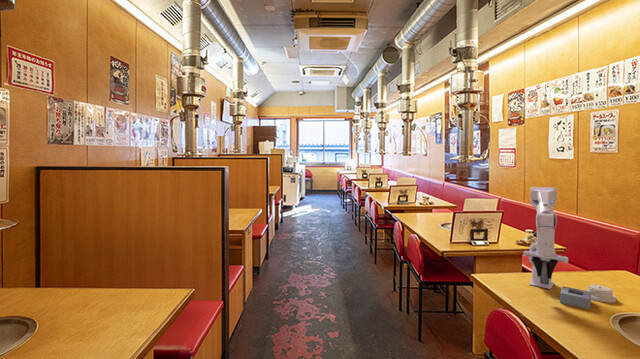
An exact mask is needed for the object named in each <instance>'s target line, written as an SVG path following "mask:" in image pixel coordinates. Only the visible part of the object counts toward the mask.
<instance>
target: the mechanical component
mask: <svg viewBox="0 0 640 359" xmlns="http://www.w3.org/2000/svg"><path fill="white" fill-rule="evenodd" d="M587 286H588V289H587V290H585V291H590V292H591V300H593V301H596V302H600V303H601V302H602V303H608V304H609V303H611V304H613V303H616V302H617V300H618V299H617V297H616V296H615V295H614V294H613V289H612V288H610V287H608V286H604V285H600V284H589V285H587Z"/></svg>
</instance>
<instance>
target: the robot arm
mask: <svg viewBox="0 0 640 359" xmlns="http://www.w3.org/2000/svg"><path fill="white" fill-rule="evenodd" d="M529 189H530V191H529V192H530V194H529V199H530V205H531V206H532V207H534V208H535V210H536V216H535V226H536V242H535V243H533V244H531V245H530V246H529V250H524V251H523V252H522V253H523V254H522V256H523V257H528V261H529V263H530V264H531V265H532V268H531V272H532V273H531V281H530V282H529V285H530V286H533V287H538V288H539V287H540V288H544V289H549V290H551V289H552V288H553V286H554V284H555V282H554V281H552V277H553V274H554V270H555V268H556V266H557V264H558V263H559V262H560V263H565V264H568V263H569V257H567V256H564V255H558V254H556V248H555V233H556V232H555V229H556V228H557V214H556V213H555V211H554V207H555V205H556V202H557V198H558V197H557V196H558V191H557V190H558V189H557V187H546V186H545V187H544V186H543V187H541V186H538V187H537V186H531V187H530V188H529ZM540 260H548V261H549V284H547V285H546V284H541V283H540Z"/></svg>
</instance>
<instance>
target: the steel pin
mask: <svg viewBox="0 0 640 359" xmlns="http://www.w3.org/2000/svg"><path fill="white" fill-rule="evenodd" d="M540 283H541V284H546V285H547V284H549V261H548V260H540Z"/></svg>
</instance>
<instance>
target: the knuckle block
mask: <svg viewBox="0 0 640 359" xmlns="http://www.w3.org/2000/svg"><path fill="white" fill-rule="evenodd" d="M559 303H560V304H564V305H568V306H571V307H572V306H573V307H576V308H582V309H586V310H590V309H591V304H592V299H591V292H590V291H586V290H585V289H579V288H574V287H569V286H564V285H562V288H561V290H560V293H559Z"/></svg>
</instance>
